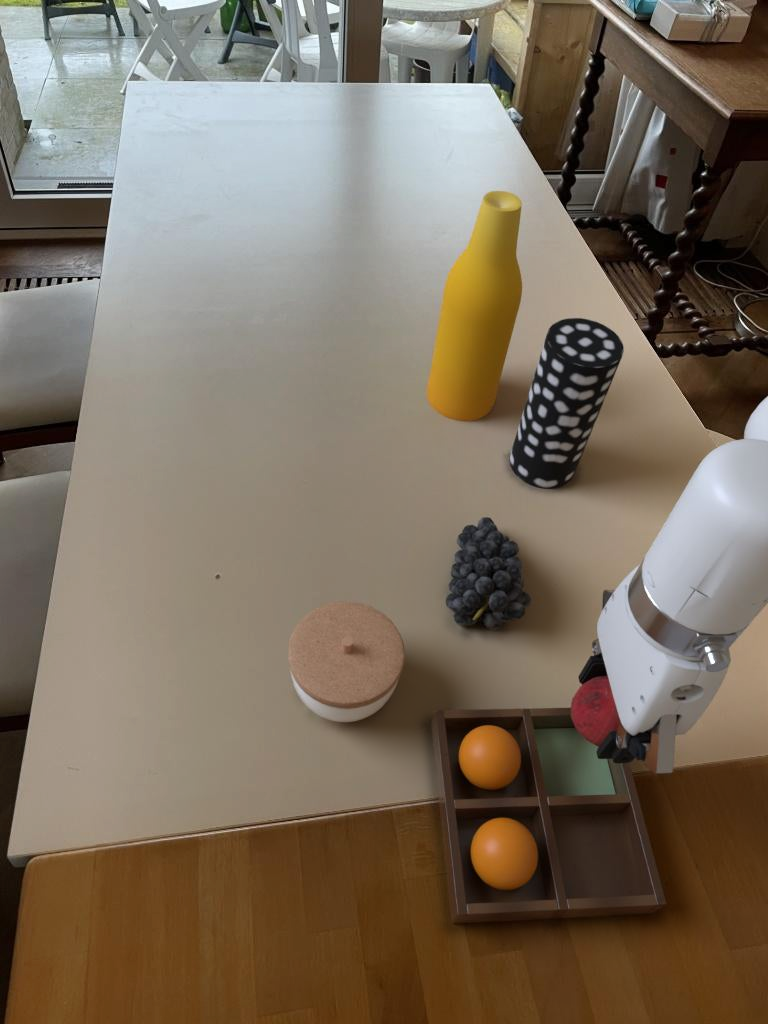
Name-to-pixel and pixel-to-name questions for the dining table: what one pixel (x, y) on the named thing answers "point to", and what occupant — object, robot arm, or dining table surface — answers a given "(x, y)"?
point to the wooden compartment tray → (546, 822)
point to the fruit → (486, 578)
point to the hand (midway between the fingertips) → (605, 716)
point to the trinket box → (345, 660)
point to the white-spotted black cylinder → (564, 401)
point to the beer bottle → (478, 314)
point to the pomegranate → (595, 710)
